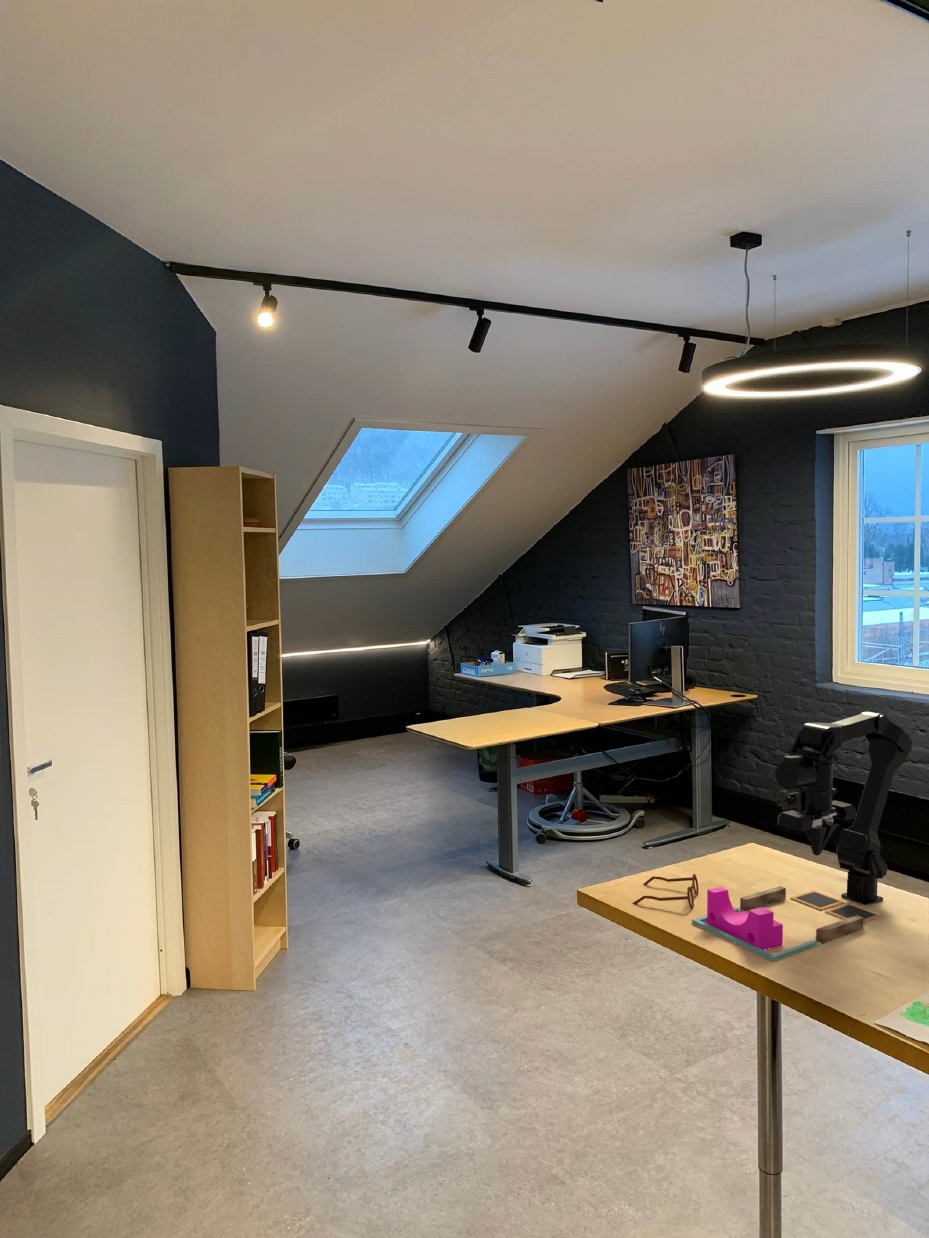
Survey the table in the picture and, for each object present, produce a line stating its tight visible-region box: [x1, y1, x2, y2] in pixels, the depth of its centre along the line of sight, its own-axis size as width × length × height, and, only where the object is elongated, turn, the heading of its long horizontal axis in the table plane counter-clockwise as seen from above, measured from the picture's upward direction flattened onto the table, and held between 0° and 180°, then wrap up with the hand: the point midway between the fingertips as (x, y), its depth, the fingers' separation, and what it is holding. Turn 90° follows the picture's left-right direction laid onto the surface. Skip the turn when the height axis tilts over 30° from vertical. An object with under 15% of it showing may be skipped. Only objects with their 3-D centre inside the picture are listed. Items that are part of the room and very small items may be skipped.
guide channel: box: [739, 885, 865, 945], centre depth 191 cm, size 13×21×2 cm, turn 31°
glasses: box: [632, 873, 700, 910], centre depth 204 cm, size 13×13×5 cm
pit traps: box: [790, 890, 882, 924], centre depth 197 cm, size 8×17×1 cm, turn 31°
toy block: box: [706, 886, 784, 950], centre depth 183 cm, size 15×6×8 cm, turn 25°
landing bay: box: [691, 906, 819, 962], centre depth 183 cm, size 13×21×1 cm, turn 31°
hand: (816, 854), depth 193 cm, fingers closed
